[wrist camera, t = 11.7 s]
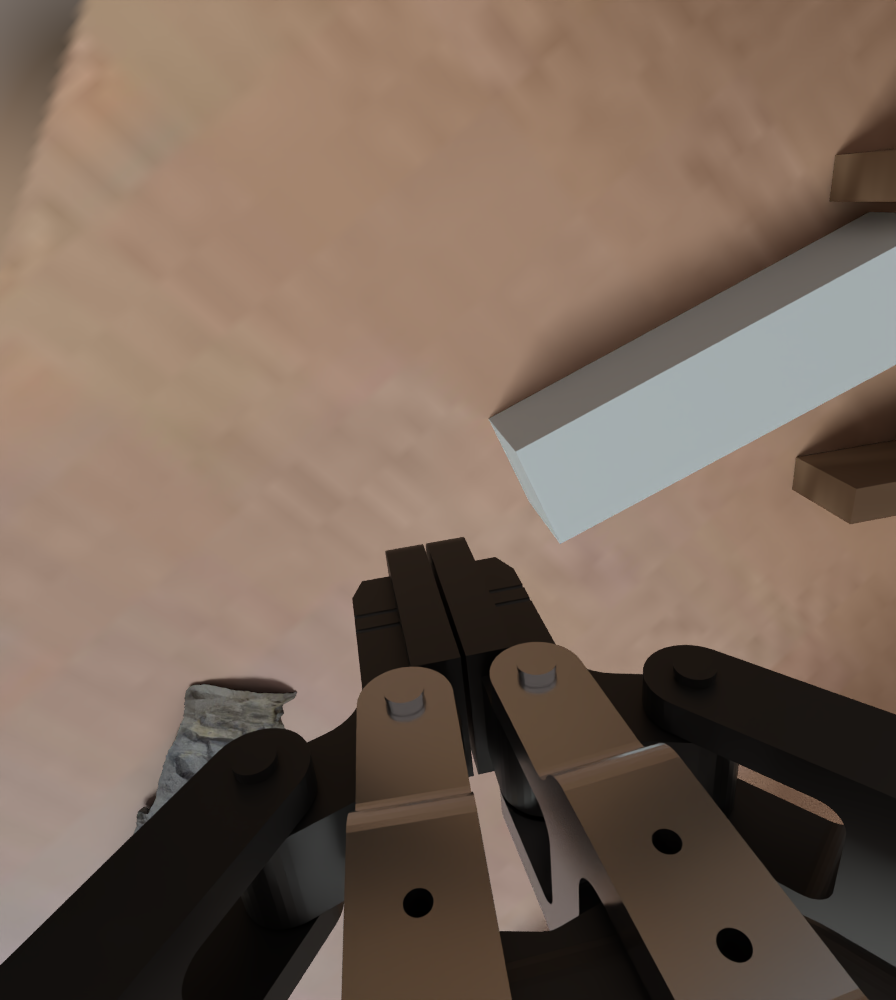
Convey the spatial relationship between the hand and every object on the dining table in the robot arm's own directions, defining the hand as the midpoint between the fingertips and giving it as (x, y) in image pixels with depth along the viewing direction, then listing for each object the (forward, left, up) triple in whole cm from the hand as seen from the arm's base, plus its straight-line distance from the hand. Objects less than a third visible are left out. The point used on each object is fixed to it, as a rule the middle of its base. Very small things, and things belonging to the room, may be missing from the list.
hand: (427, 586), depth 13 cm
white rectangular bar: (0, -12, -13) cm, 18 cm away
